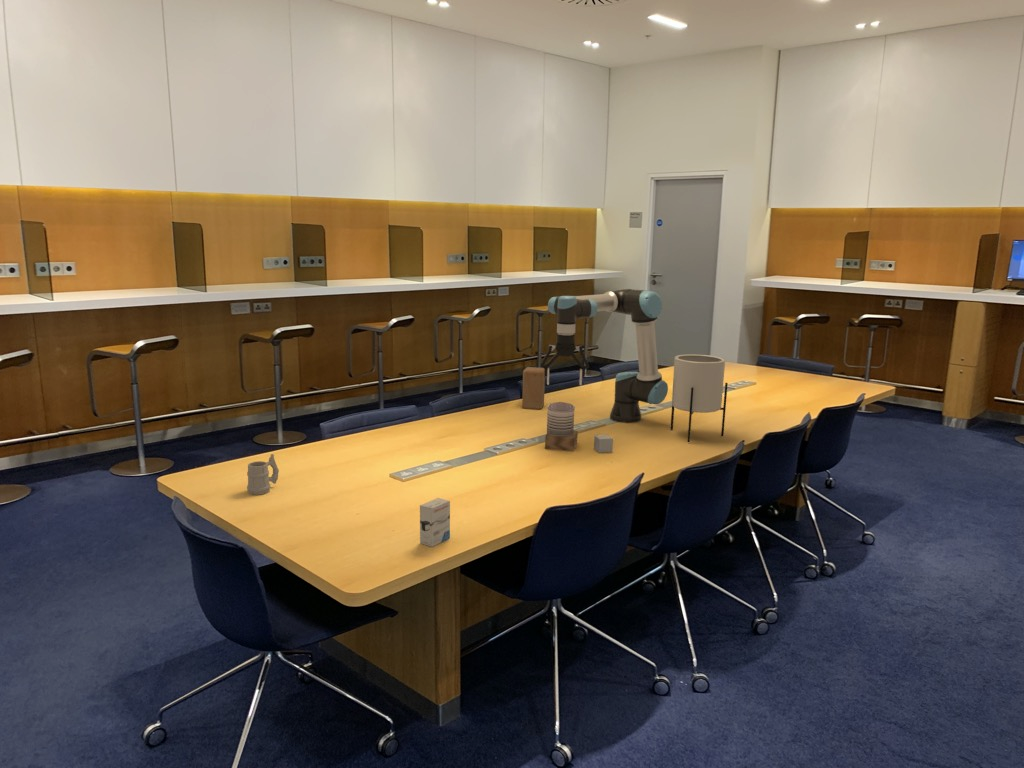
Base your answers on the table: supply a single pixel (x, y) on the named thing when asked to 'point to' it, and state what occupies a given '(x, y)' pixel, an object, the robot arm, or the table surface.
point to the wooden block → (533, 388)
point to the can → (560, 419)
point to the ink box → (434, 522)
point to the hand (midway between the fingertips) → (564, 384)
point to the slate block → (603, 443)
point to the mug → (261, 476)
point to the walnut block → (561, 442)
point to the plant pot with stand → (698, 385)
